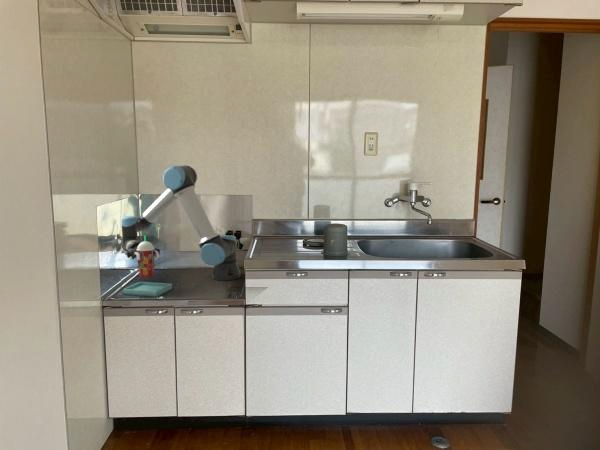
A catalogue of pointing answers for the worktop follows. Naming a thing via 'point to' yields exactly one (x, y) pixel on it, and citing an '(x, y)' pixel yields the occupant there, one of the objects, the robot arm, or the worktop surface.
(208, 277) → the worktop surface
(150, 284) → the tray
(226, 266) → the robot arm
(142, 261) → the smoothie
